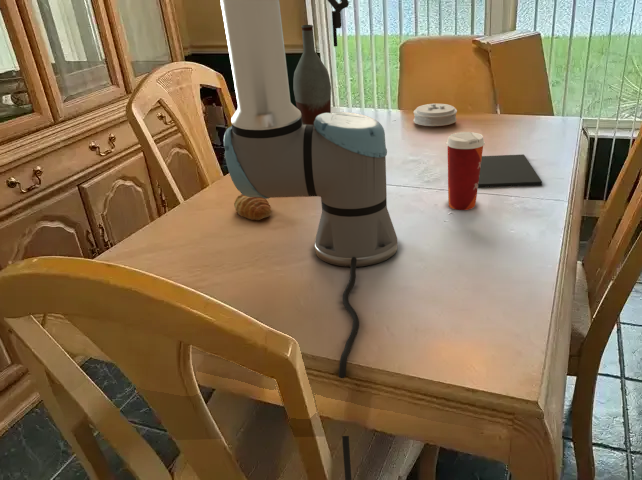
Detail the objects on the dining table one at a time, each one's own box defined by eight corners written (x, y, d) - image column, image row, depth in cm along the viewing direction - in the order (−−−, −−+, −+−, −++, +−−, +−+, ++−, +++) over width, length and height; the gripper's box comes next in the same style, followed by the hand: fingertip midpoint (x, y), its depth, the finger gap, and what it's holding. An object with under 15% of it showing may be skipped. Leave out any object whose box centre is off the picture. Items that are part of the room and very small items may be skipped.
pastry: (280, 216, 129) (277, 198, 127) (251, 225, 126) (248, 207, 124) (259, 204, 136) (256, 187, 133) (231, 212, 133) (228, 194, 130)
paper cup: (487, 207, 128) (493, 138, 120) (454, 214, 126) (458, 144, 118) (468, 196, 134) (472, 128, 125) (436, 202, 132) (439, 134, 123)
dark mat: (541, 185, 137) (542, 181, 137) (478, 187, 138) (478, 184, 137) (523, 157, 153) (523, 154, 153) (467, 159, 154) (467, 156, 153)
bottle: (295, 161, 159) (281, 28, 141) (306, 150, 166) (294, 23, 148) (330, 162, 157) (320, 28, 139) (339, 151, 164) (331, 22, 146)
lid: (434, 115, 189) (435, 98, 186) (465, 123, 181) (466, 104, 178) (404, 124, 183) (404, 106, 180) (435, 132, 175) (435, 113, 172)
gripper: (356, -75, 127) (360, 41, 139) (235, -69, 127) (250, 47, 139) (357, -76, 121) (361, 46, 133) (230, -69, 121) (246, 52, 133)
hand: (305, 47), depth 136 cm, fingers open, 13 cm apart
